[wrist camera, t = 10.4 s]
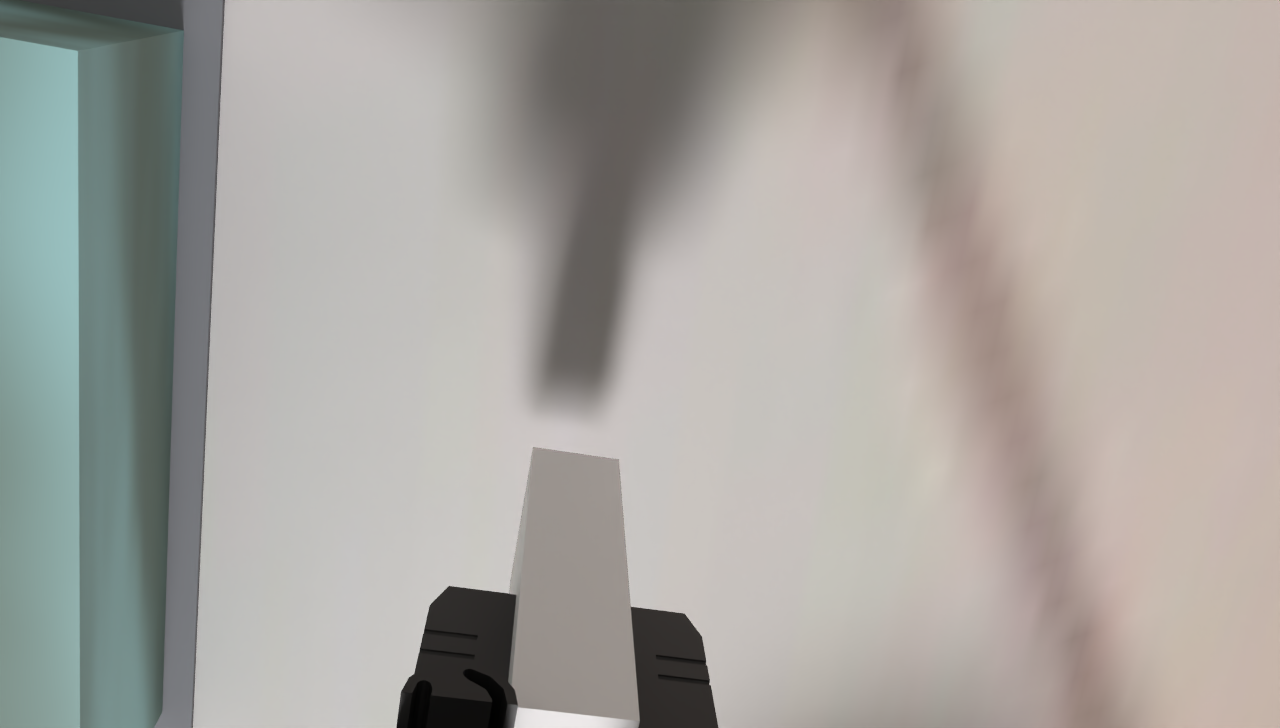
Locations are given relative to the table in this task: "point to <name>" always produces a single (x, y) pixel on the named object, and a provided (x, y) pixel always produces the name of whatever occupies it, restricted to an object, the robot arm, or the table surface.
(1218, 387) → the table surface
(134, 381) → the t block
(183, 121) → the pad
